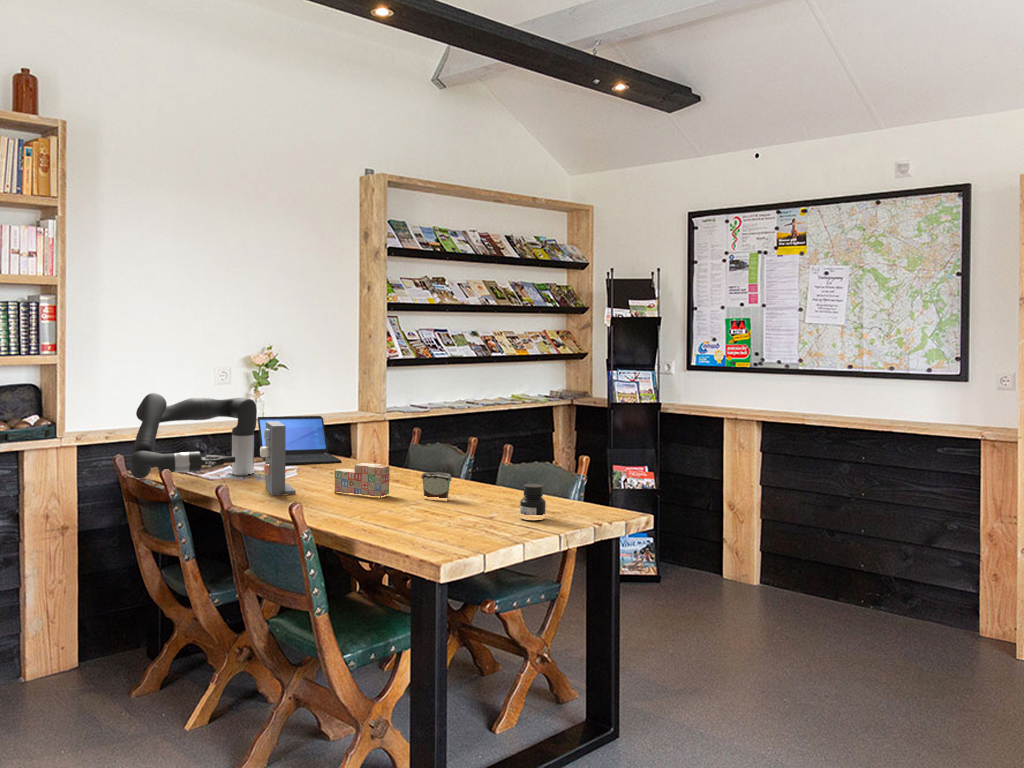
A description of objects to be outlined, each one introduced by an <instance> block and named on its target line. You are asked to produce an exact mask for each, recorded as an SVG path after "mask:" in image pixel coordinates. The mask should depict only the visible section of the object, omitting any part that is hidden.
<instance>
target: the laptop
mask: <svg viewBox="0 0 1024 768" xmlns="http://www.w3.org/2000/svg"><path fill="white" fill-rule="evenodd" d="M266 421H279V422H280V423H282V424H284V425H285V426H286V442H285V466H298V465H299V466H300V465H301V466H302V465H323V464H324V465H325V464H340V463H342V460H341V459H339V458H338V457H336V456H334V455H333V454H331V453H329V449H328V442H327V441H328V440H327V436H326V430H325V422H324V418H323V417H322V415H301V416H300V415H296V416H293V415H291V416H289V415H288V416H283V415H282V416H258V417H257V425H258V434H259V442H260V447H266V439H264V429H266ZM261 458H262V459H264V460H265V461H266V457H261Z"/></svg>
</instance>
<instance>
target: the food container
mask: <svg viewBox="0 0 1024 768" xmlns="http://www.w3.org/2000/svg"><path fill="white" fill-rule="evenodd" d="M420 479H421V480H422V488H423V489H422V490H423V497H424V496H427V497H439V498H448V499H449V494H450V493H449V490H450V484H451V483H450V482H452V481H453V480H452V475H451V474H450V473H447V472H440V471H439V472H437V471H434V472H424V473H422V474H421V477H420Z"/></svg>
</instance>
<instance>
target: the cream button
mask: <svg viewBox="0 0 1024 768" xmlns="http://www.w3.org/2000/svg"><path fill="white" fill-rule="evenodd" d="M259 455H260V457H261V458H262V457H270V447H261V446H260V448H259Z"/></svg>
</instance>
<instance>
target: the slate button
mask: <svg viewBox="0 0 1024 768" xmlns="http://www.w3.org/2000/svg"><path fill="white" fill-rule="evenodd" d="M264 439H270V429H264Z"/></svg>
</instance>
